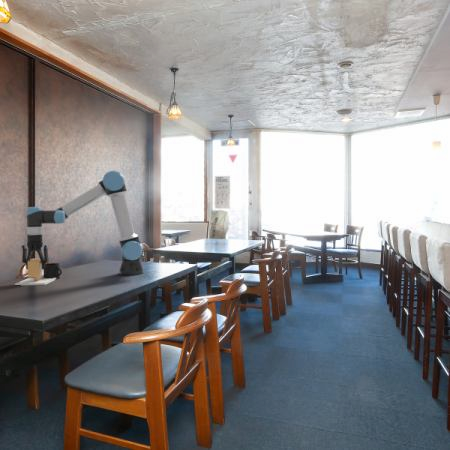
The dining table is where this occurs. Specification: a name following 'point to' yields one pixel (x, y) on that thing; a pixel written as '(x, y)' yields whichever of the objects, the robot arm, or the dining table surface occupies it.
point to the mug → (52, 270)
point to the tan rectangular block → (34, 268)
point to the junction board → (36, 281)
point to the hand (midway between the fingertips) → (35, 274)
